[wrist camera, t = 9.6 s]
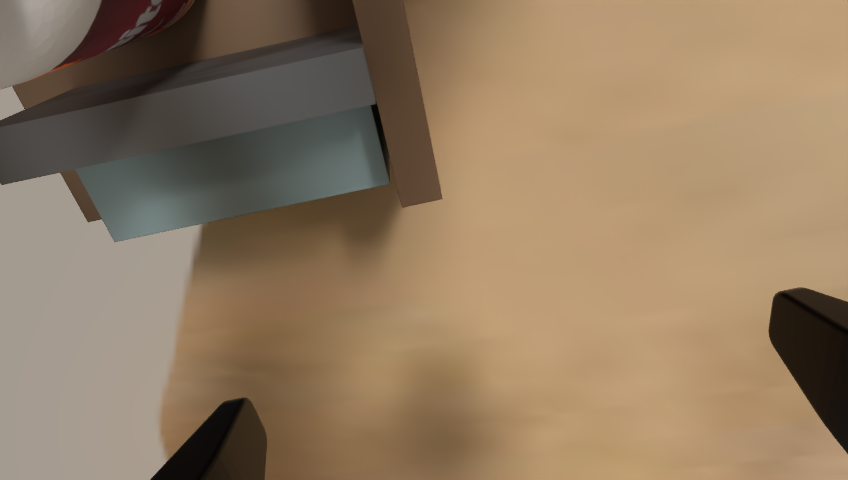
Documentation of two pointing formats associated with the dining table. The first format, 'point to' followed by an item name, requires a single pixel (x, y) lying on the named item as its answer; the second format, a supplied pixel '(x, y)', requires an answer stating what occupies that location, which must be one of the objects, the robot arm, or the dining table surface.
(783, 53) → the dining table surface
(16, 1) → the pill bottle
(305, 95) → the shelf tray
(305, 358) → the dining table surface
